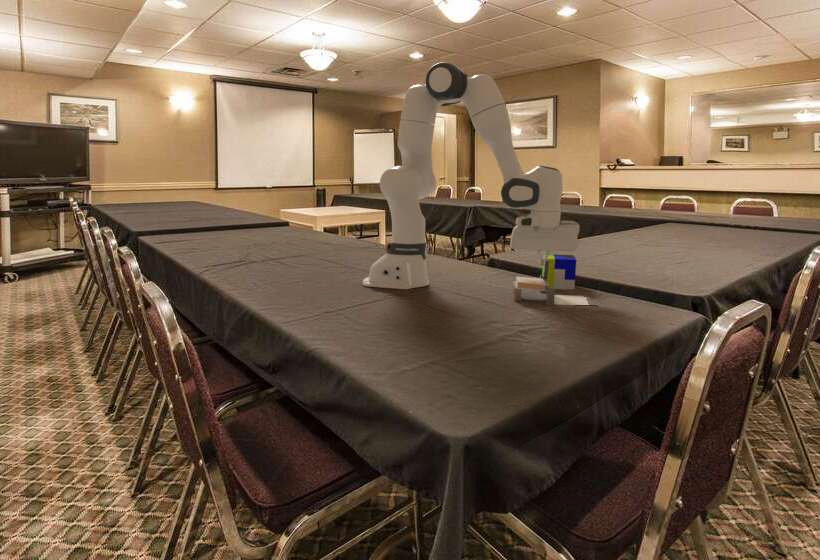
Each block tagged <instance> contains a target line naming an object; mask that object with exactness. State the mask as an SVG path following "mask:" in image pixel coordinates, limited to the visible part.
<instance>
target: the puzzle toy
mask: <svg viewBox="0 0 820 560" xmlns="http://www.w3.org/2000/svg"><path fill="white" fill-rule="evenodd" d="M545 255H546V254H545V253H543V254H542V259H543V258H544V256H545ZM546 260H548V261H549V266H548V274H547V283H548V284H549V286H550V287H554V288H555V290H567V289H574V290H575V283H576V270H577V259H576V257H575V255H573V254H555V253H554V254H553V253H552V254H551V253H550V255H549V256H548V258H547V259H546ZM541 266H542V267H541V276H543V273H544V265H541Z"/></svg>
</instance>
